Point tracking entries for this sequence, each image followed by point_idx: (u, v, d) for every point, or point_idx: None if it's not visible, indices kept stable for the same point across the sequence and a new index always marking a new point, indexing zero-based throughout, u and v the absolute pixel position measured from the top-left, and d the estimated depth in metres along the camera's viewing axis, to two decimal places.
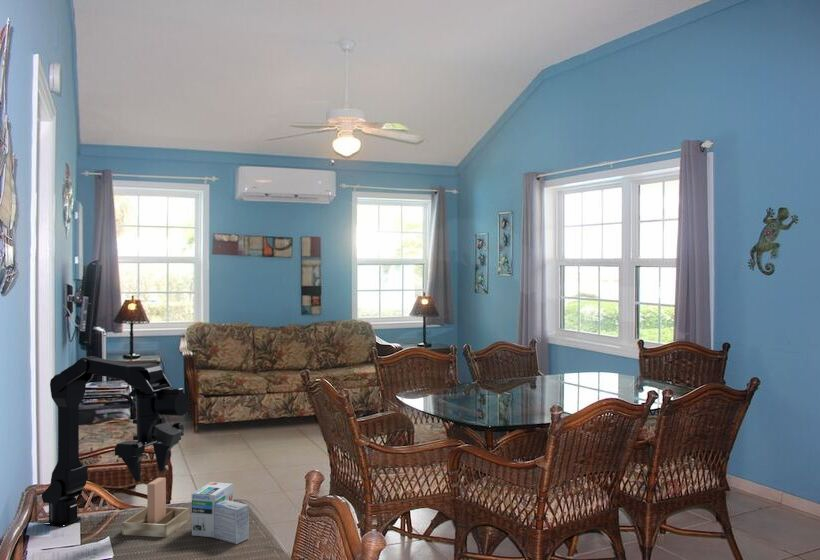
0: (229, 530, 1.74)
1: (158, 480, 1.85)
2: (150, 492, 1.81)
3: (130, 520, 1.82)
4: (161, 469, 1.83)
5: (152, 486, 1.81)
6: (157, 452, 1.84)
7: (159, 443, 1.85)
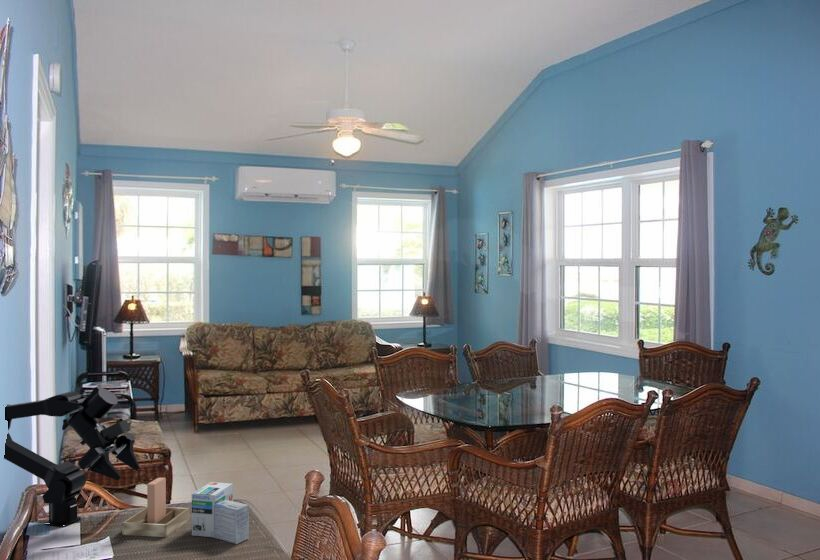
0: (229, 530, 1.74)
1: (158, 480, 1.85)
2: (150, 492, 1.81)
3: (130, 520, 1.82)
4: (137, 467, 1.90)
5: (152, 486, 1.81)
6: (123, 459, 1.91)
7: (120, 452, 1.91)
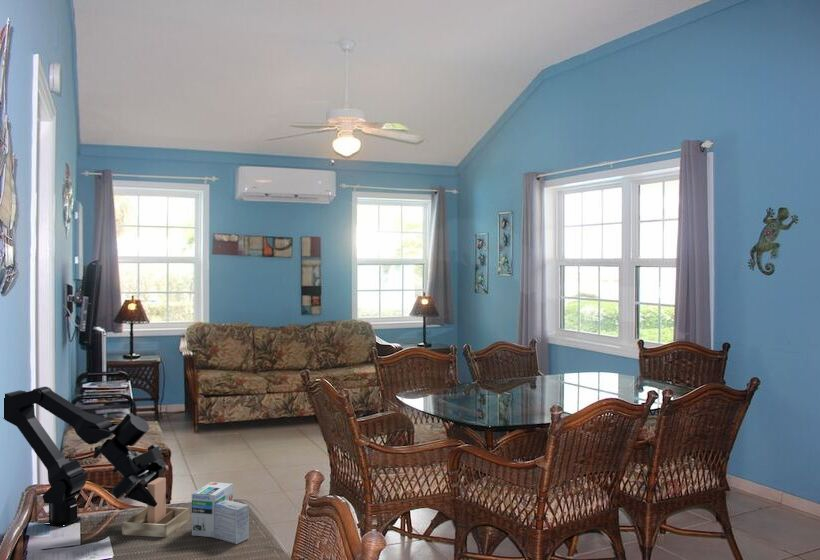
0: (229, 530, 1.74)
1: (158, 480, 1.85)
2: (150, 492, 1.81)
3: (130, 520, 1.82)
4: (166, 496, 1.87)
5: (152, 486, 1.81)
6: None
7: (148, 480, 1.89)
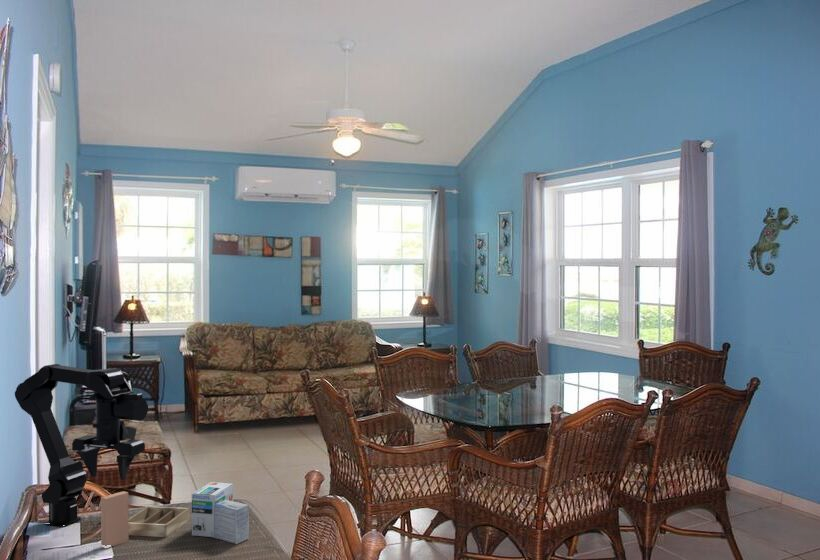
0: (229, 530, 1.74)
1: (117, 494, 1.73)
2: (102, 506, 1.70)
3: (130, 520, 1.82)
4: (95, 474, 1.85)
5: (104, 500, 1.70)
6: (88, 459, 1.83)
7: (89, 450, 1.84)
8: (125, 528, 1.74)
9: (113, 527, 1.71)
